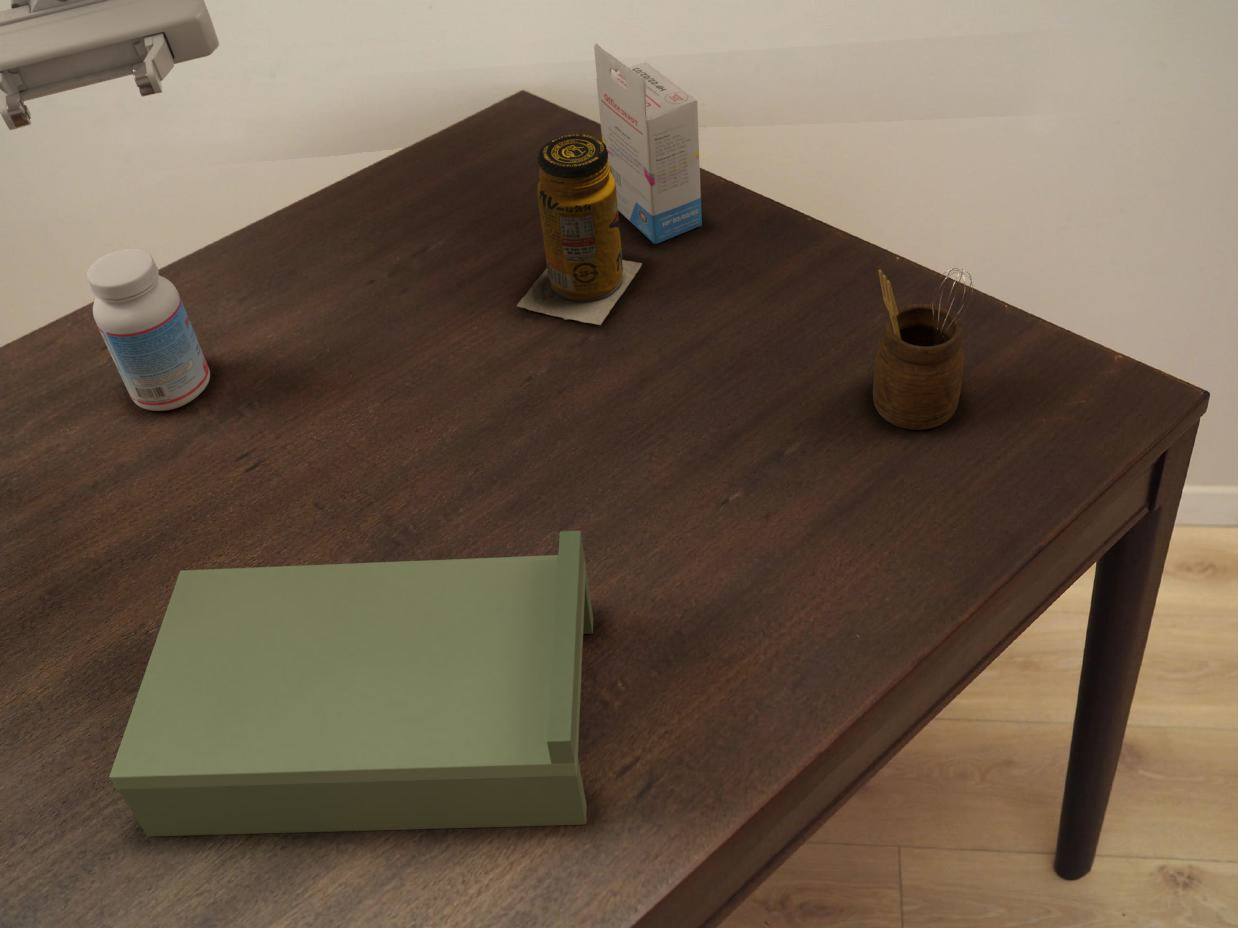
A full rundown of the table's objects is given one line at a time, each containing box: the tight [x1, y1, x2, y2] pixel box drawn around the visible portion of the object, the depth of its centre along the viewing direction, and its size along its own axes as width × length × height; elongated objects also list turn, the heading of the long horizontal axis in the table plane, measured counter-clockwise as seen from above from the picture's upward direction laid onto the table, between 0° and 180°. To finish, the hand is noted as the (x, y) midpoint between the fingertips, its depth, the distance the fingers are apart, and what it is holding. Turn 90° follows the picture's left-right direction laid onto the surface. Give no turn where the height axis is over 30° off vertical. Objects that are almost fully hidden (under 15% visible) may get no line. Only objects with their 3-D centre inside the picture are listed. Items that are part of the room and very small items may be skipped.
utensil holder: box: [872, 267, 974, 431], centre depth 85 cm, size 6×6×12 cm
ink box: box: [593, 43, 703, 245], centre depth 104 cm, size 8×5×15 cm, turn 29°
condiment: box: [516, 133, 643, 326], centre depth 98 cm, size 7×8×12 cm
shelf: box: [109, 530, 594, 837], centre depth 71 cm, size 24×14×8 cm, turn 89°
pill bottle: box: [86, 248, 211, 412], centre depth 93 cm, size 6×6×11 cm
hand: (82, 103), depth 90 cm, fingers open, 8 cm apart
